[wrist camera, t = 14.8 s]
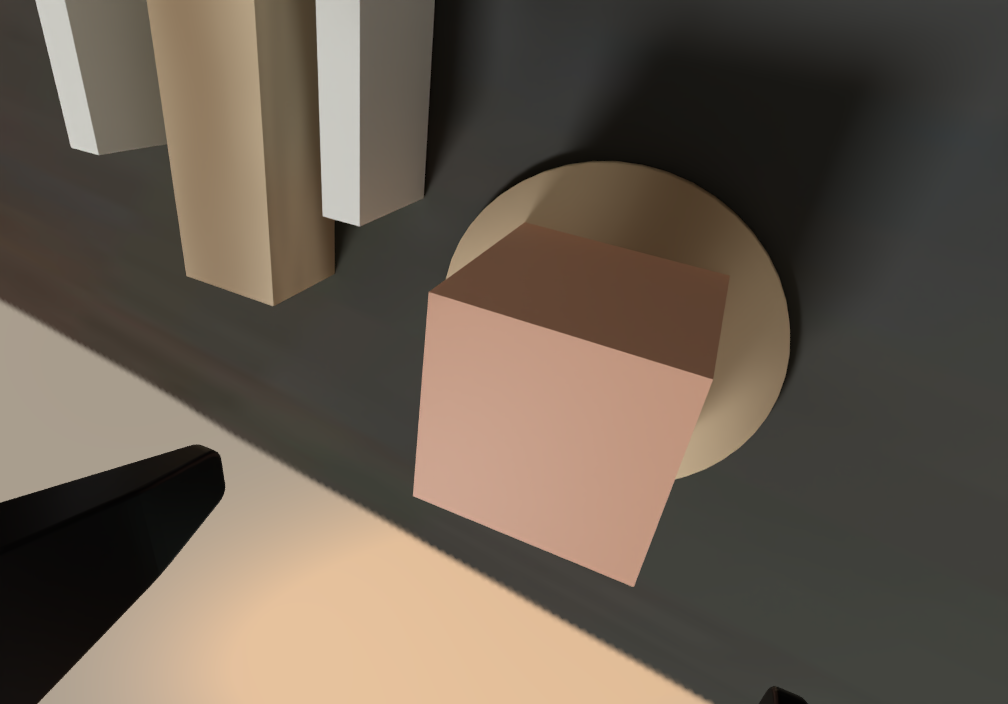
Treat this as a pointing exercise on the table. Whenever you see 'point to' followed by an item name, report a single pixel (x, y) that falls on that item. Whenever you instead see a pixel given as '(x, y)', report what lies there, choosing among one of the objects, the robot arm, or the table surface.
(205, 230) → the bar
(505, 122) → the table surface
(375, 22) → the channel
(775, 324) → the coaster
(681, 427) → the block
